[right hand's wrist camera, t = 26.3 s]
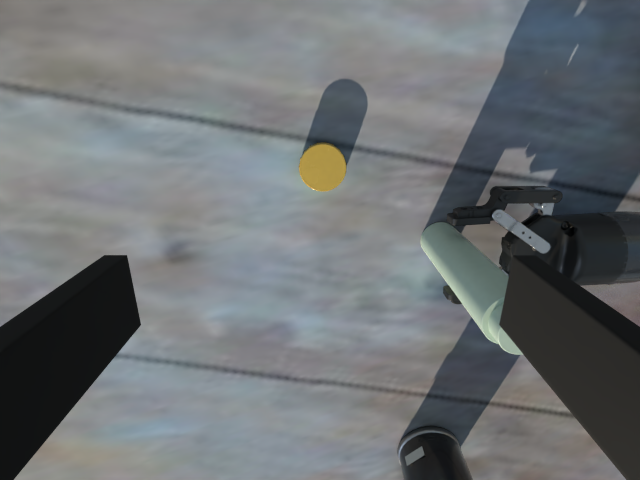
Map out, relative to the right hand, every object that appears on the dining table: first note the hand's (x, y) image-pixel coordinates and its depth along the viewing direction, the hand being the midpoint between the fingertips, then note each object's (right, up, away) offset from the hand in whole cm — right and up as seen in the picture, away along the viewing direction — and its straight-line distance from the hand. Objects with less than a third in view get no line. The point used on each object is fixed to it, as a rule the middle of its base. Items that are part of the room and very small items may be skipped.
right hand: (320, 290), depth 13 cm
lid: (0, +10, +27) cm, 28 cm away
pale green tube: (+14, +2, +31) cm, 35 cm away
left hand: (+14, 0, +26) cm, 29 cm away
